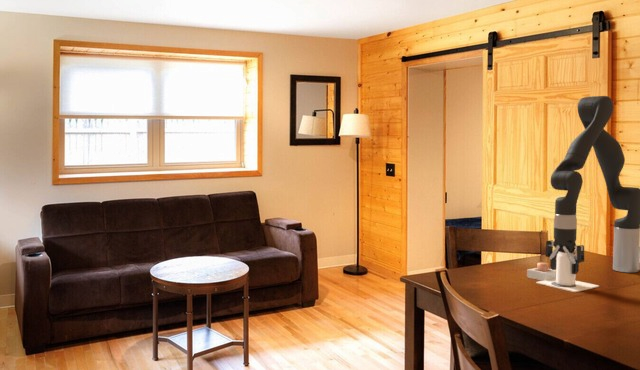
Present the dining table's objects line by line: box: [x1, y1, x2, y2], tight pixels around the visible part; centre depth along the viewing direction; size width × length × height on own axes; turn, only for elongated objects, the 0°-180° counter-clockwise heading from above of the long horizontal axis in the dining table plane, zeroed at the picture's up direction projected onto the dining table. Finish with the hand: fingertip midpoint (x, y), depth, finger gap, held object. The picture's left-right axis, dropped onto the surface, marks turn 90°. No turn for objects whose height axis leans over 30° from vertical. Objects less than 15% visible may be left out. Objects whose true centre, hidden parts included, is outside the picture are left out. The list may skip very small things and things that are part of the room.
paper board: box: [535, 278, 600, 293], centre depth 221 cm, size 14×16×1 cm
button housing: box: [526, 267, 556, 281], centre depth 232 cm, size 8×8×3 cm
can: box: [556, 251, 577, 286], centre depth 220 cm, size 6×6×12 cm
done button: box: [536, 261, 550, 272], centre depth 232 cm, size 4×4×4 cm
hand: (564, 271), depth 220 cm, fingers open, 8 cm apart
